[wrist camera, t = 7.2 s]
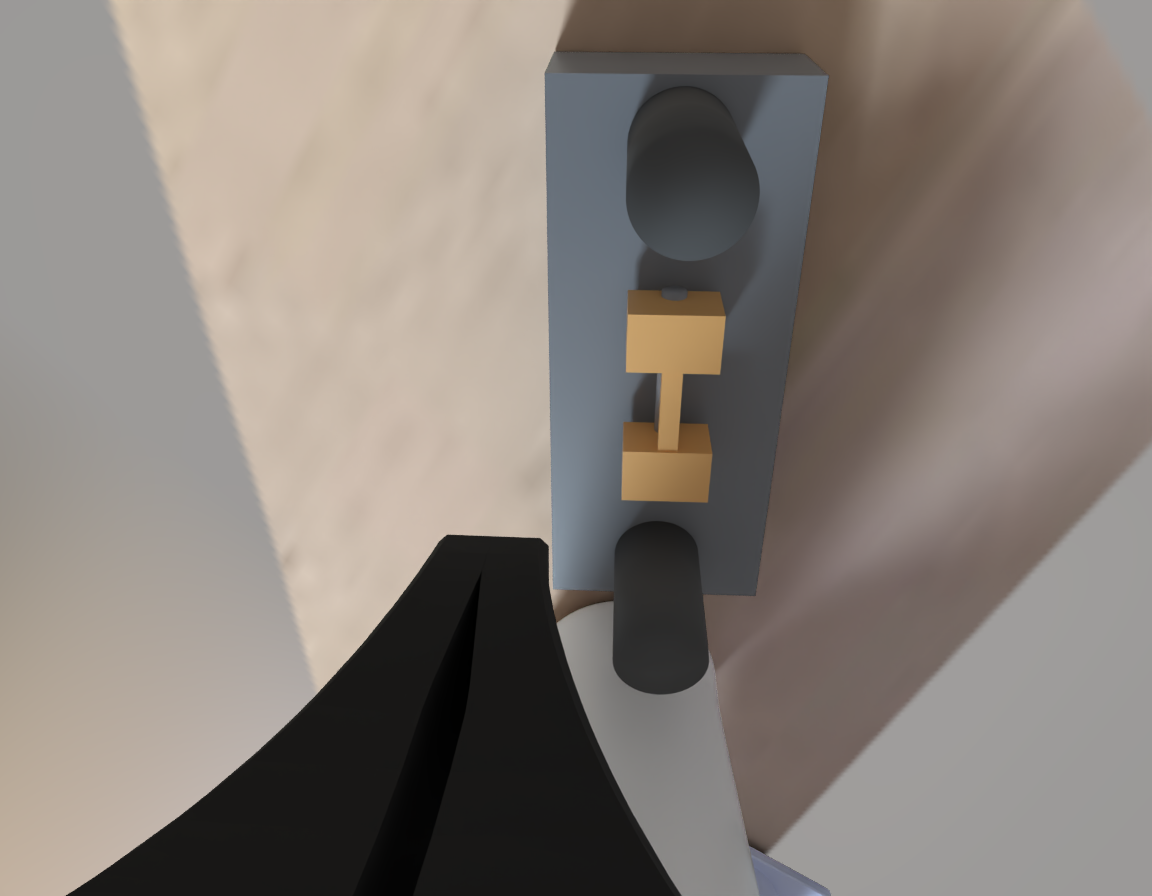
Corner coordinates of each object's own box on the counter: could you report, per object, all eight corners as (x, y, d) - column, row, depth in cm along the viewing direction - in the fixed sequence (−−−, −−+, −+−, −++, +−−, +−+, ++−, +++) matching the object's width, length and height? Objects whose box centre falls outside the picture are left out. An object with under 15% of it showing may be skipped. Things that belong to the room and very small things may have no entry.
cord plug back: (694, 587, 22) (705, 696, 19) (613, 584, 22) (611, 692, 19) (701, 522, 21) (713, 627, 18) (615, 519, 21) (613, 623, 18)
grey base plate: (744, 534, 24) (755, 596, 22) (559, 528, 24) (553, 589, 22) (804, 53, 18) (828, 75, 16) (554, 51, 18) (544, 73, 16)
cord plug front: (736, 194, 17) (757, 256, 14) (630, 202, 17) (628, 264, 14) (737, 81, 16) (761, 122, 13) (624, 90, 16) (622, 132, 13)
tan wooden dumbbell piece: (703, 474, 20) (707, 506, 19) (621, 472, 20) (621, 504, 19) (720, 286, 17) (726, 311, 16) (628, 285, 18) (628, 309, 16)
